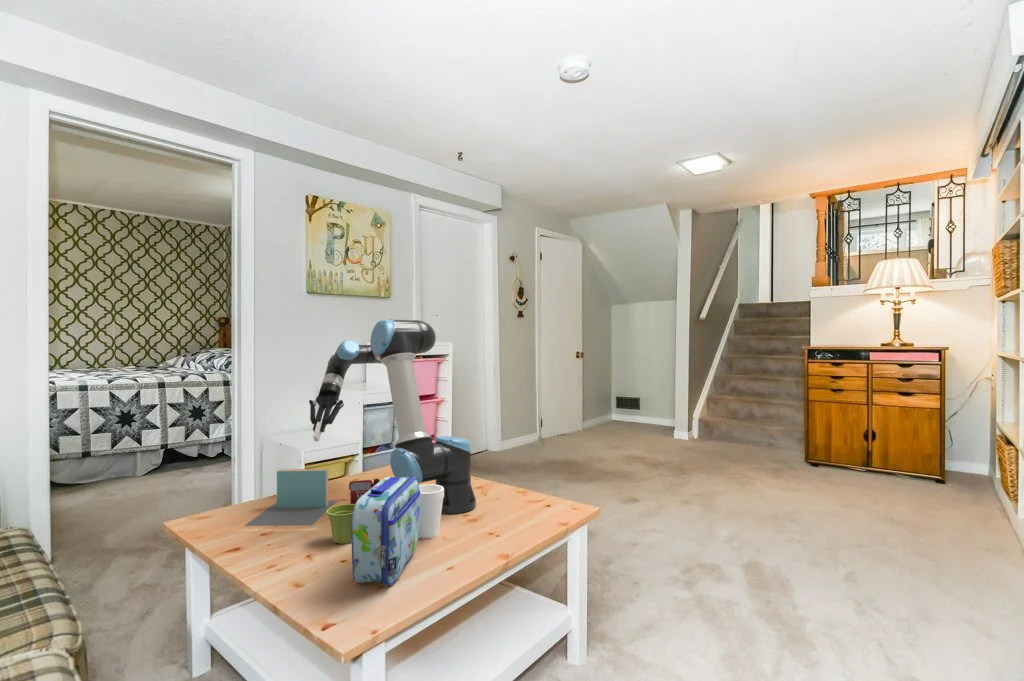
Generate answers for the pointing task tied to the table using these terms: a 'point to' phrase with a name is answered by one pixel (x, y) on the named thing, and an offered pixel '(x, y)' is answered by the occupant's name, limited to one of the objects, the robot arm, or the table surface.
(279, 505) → the terracotta tile
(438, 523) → the foam cup
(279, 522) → the rubber mat
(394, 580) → the lunch box
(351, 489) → the toy fire truck
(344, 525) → the plant pot
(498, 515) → the table surface
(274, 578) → the table surface
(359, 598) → the table surface
